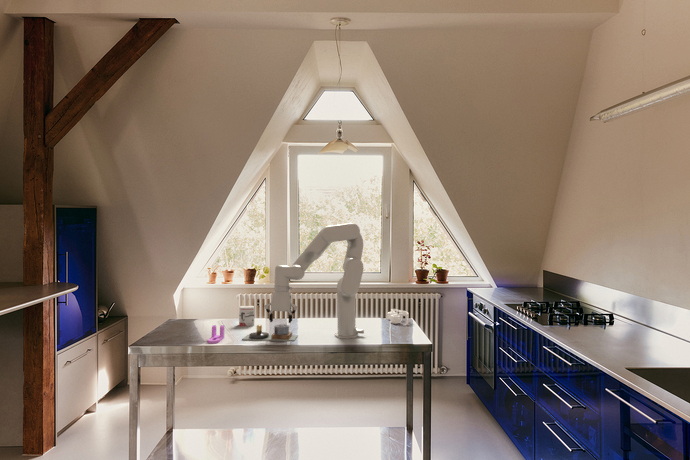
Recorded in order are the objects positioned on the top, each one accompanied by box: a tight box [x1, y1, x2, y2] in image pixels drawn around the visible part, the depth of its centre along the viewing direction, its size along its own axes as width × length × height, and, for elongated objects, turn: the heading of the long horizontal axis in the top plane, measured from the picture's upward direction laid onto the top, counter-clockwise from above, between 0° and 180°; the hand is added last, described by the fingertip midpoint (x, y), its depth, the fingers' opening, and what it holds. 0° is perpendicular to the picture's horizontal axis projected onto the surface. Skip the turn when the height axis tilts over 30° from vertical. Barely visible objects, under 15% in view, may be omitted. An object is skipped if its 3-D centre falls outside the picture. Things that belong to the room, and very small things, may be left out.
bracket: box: [207, 324, 225, 345], centre depth 238 cm, size 13×6×7 cm, turn 1°
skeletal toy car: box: [386, 308, 410, 326], centre depth 286 cm, size 20×11×7 cm, turn 5°
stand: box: [270, 324, 293, 339], centre depth 243 cm, size 9×9×6 cm
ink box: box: [238, 305, 255, 327], centre depth 275 cm, size 9×5×12 cm, turn 105°
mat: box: [241, 334, 299, 342], centre depth 243 cm, size 27×11×1 cm, turn 86°
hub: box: [248, 324, 270, 339], centre depth 244 cm, size 10×10×6 cm
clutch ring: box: [273, 324, 290, 335], centre depth 243 cm, size 7×7×4 cm
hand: (280, 322), depth 243 cm, fingers open, 9 cm apart
